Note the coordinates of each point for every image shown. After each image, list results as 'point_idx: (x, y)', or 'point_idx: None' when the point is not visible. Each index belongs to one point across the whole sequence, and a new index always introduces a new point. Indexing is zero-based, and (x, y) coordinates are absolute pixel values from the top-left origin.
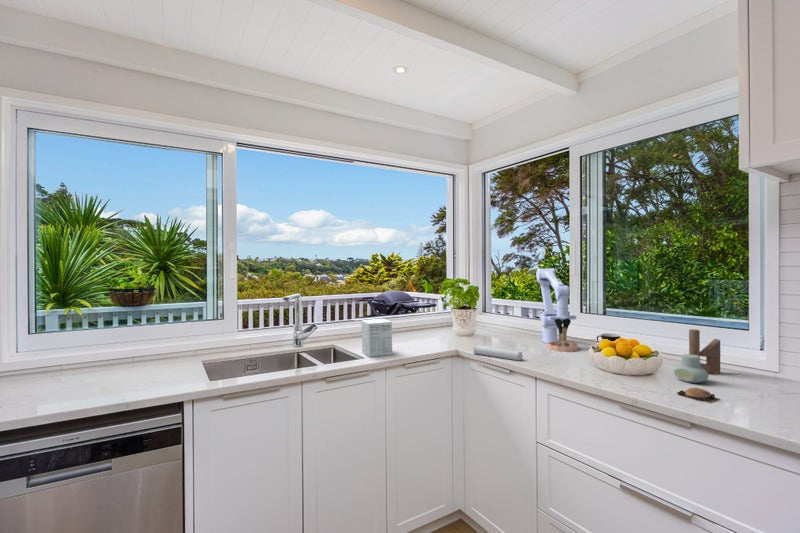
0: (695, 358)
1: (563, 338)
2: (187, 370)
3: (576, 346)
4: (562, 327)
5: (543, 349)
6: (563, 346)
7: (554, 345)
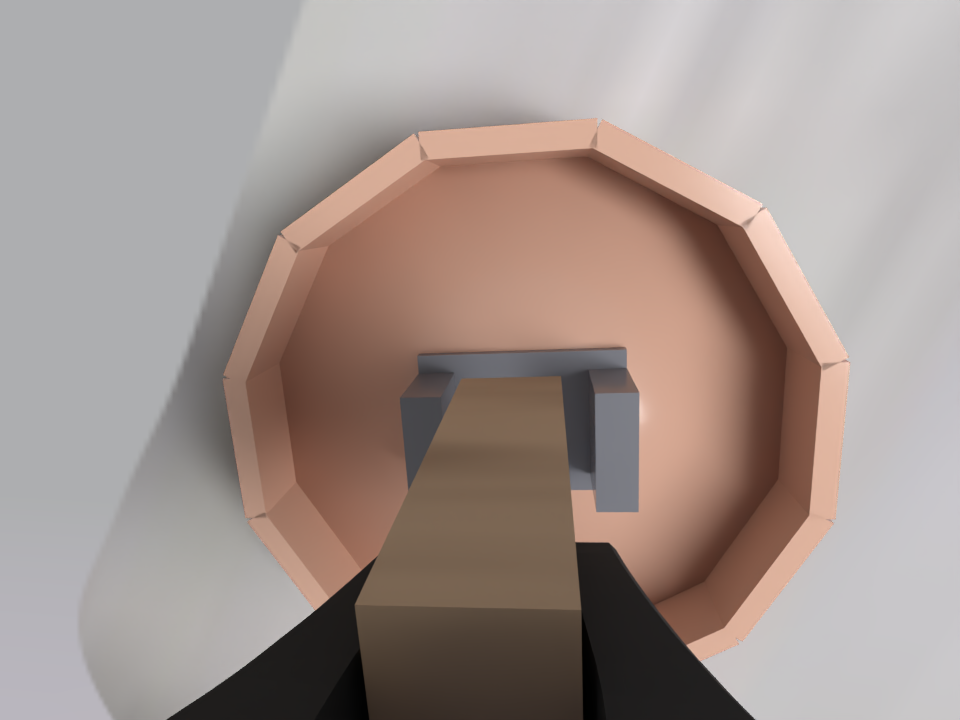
0: None
1: (548, 395)
2: None
3: (318, 204)
4: (555, 690)
5: (938, 388)
6: None
7: None
